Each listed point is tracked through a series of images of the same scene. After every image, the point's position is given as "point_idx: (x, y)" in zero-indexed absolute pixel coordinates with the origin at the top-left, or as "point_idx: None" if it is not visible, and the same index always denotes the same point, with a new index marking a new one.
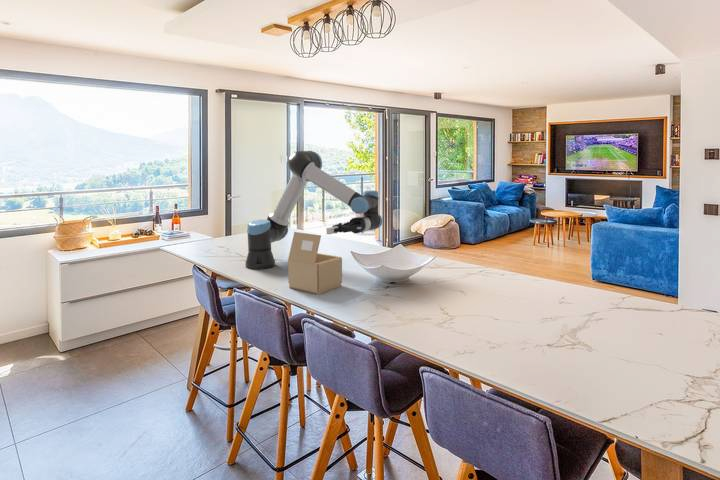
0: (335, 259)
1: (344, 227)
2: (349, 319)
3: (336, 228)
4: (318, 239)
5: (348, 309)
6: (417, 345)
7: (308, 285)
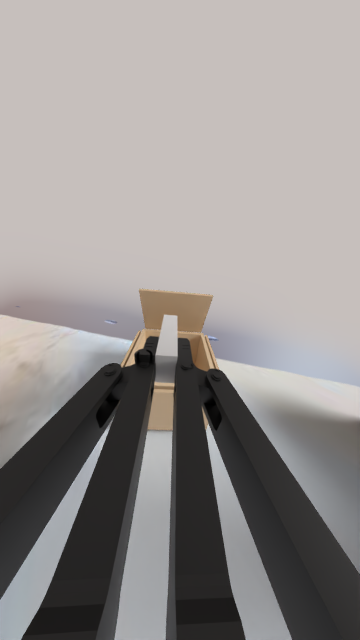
0: (126, 365)
1: (106, 366)
2: (81, 333)
3: (156, 348)
4: (143, 296)
5: (85, 347)
6: (15, 320)
7: None
